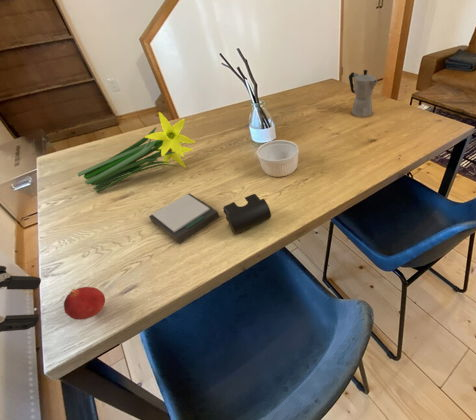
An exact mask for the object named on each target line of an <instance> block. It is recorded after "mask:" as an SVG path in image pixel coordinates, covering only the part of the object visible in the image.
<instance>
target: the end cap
mask: <svg viewBox="0 0 476 420" xmlns="http://www.w3.org/2000/svg"><path fill="white" fill-rule="evenodd" d="M244 199H245V201H246V202H247V203H246V204H245V205H242V206H241V205H240V206H239V205H237V203H236V202H234V201H233V202H230V203H228V204H226V205H224V206H223V207H222V209H223V213H224V215H225V220H226V221H227V222H228V225H229V227H230V230H231V232H232V234H233V235H238V234H239V233H240V234H241V233H242V232H243V231H246V230H248V229H251V228H253V227H255V226H257V225H259V224H261V223H263V222H265V221H268V220H270V219H271V218H272V212H271V209H270V206H269V204H268V203H267V201H266V200H265V198H262V199H260V197H259V196H258V195H257V194H256V193H252V194H250V195H248V196H245V197H244Z"/></svg>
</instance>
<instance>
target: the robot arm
mask: <svg viewBox="0 0 476 420" xmlns="http://www.w3.org/2000/svg"><path fill="white" fill-rule="evenodd" d="M6 270H7V267H6V266H5V265H0V290H3V289H4V288H6V290H24V291H25V290H28V291H29V290H37V289H38V288H39V287H40V285H41V283H42V278H41V277H36V276H31V275H29V276H28V275H11V273H9V272H7V271H6ZM39 320H40V314H38V313H33V314H32V313H31V314H14V315H13V314H11V315H5V317H4V316H3V315H0V333H2V332H13V331H25V330H30V329H32V328H34V327H36V326H37V324H38V322H39Z"/></svg>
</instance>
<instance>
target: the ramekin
mask: <svg viewBox="0 0 476 420" xmlns="http://www.w3.org/2000/svg"><path fill="white" fill-rule="evenodd" d="M299 153H300V151H299V146H298V144H296V143H295V142H294V141H291V140H285V139H276V140H270V141H267V142H265V143H263V144H261V145H260V146H258V148H257V151H256V156H257V158H258V160H259V164H260V166H261V169H262V171H263V172H264V173H265V174H267V175H269V176H271V177H274V178H281V177H286V176H287V177H288V176H289V175H291V174H292V173H294V172H295V171H296V170H297V168H298V164H299Z"/></svg>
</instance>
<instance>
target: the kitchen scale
mask: <svg viewBox="0 0 476 420" xmlns="http://www.w3.org/2000/svg"><path fill="white" fill-rule="evenodd" d="M148 217H149V219H150V220H151V222H152V223H153V224H154V225H155V226H157V227H158V228H159V229H161V230H162V231H163V232H164V233H165V234H167V235H168V236H169V237H170V238H171V239H173V240H174V241H175V242H176V243H178V244H179V245H180V244H181V243H183V242H184V241H186V240H187V239H188V238H191V237H192V236H193V235H194V234H196V233H198V232H199V231H200V230H202V229H203V228H205V227H206V226H208V225H209V224H210V223H212V222H214V221H215V220H217V219H219V218H220V215H219V212H218V210H216V209H215V208H213V207H211V206H210V205H208V204H207V203H205V202H204V201H202V200H200V199H199V198H198V197H196V196H194V194H191V193H186V194H184V195H182V196H181V197H179V198H177V199H175V200H174V201H172V202H170V203H168V204H166V205H165V206H163V207H161V208H160V209H157V210H156V211H154V212H153V213H151V214H150V215H149V216H148Z"/></svg>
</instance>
